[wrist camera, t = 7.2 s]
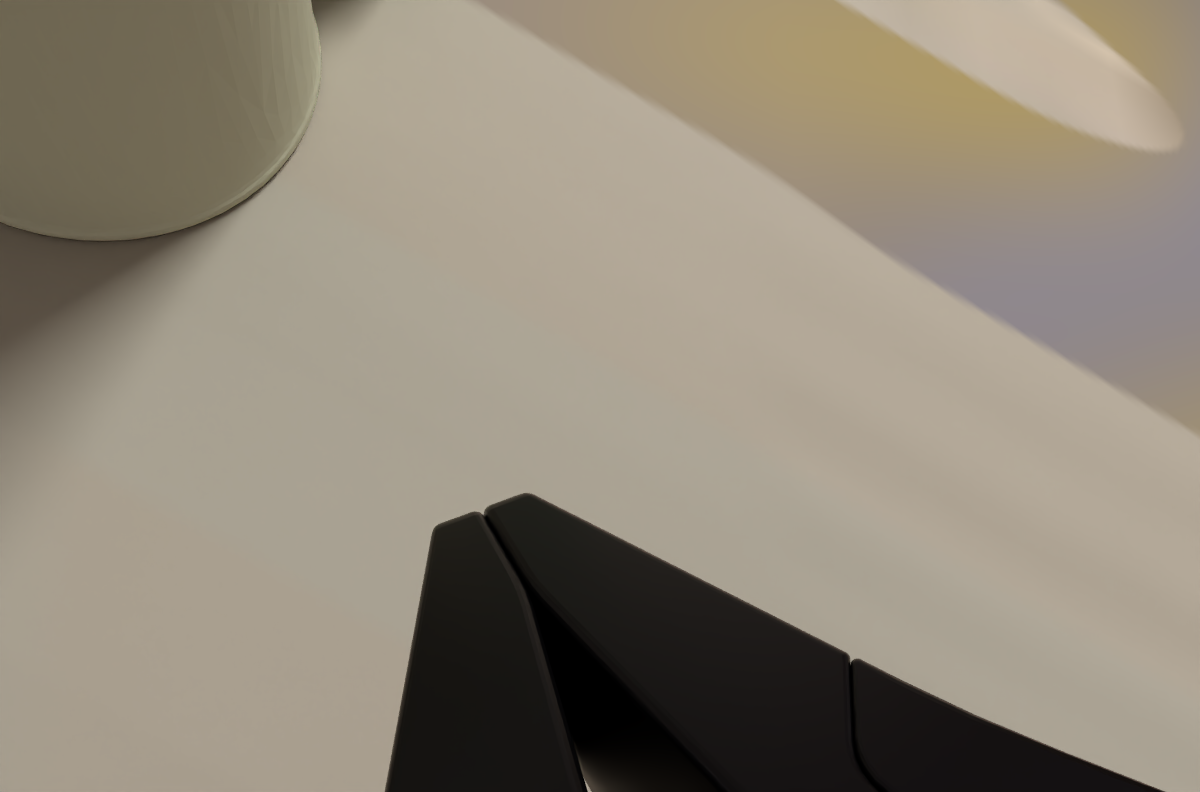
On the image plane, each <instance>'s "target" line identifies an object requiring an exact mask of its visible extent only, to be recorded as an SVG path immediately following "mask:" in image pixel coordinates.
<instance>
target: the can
mask: <svg viewBox="0 0 1200 792" xmlns="http://www.w3.org/2000/svg"><path fill="white" fill-rule="evenodd" d="M321 60H322V58H321V46H320V39H319V33H318V28H317V24H316V20H315V17H314V14H313V10H312V3H311V0H0V222H1V223H4V224H6V225H9V226H12V227H16V228H19V229H23V230H26V231H30V232H33V233H38V234H42V235H47V236H52V237H60V238H67V239H75V240H91V241H115V240H132V239H138V238H145V237H151V236H157V235H162V234H166V233H170V232H175V231H178V230H181V229H184V228H187V227H190V226H194V225H196V224H199V223H201V222H204V221H206V220H208V219H210V218H213V217H215V216H217V215H219V214H221V213H223V212H225V211H227V210H228V209H230V208H232V207H233V206H235V205H237V204H238V203H240V202H241V201H243V200H245V199H246V198H248V197H249V196H250V195H252V194H253V193H254V192H256V191H257V190H258V189H259V188H261V187H262V186H263V185H264V184H265V183H266V182H267V181H268V180H269V179H270V178H271V177H272V176H273V175H274V174H275V173H276V172H277V171H278V170H279V169H280V168H281V167H282V166H283V164H284V163H285V162H286V161H287V159H288V158H289V157H290V155H291V154H292V153H293V152H294V150H295V149H296V147H297V145H298V144H299V142H300V140H301V138H302V137H303V135H304V133H305V131H306V129H307V127H308V124H309V122H310V120H311V118H312V115H313V112H314V109H315V106H316V102H317V98H318V93H319V88H320V80H321Z"/></svg>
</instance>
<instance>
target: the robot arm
mask: <svg viewBox="0 0 1200 792" xmlns="http://www.w3.org/2000/svg"><path fill="white" fill-rule="evenodd" d="M583 777H584V778H583ZM584 779H585V781H586V782H587V784H588V786H589V788H590V789H591V791H592V792H1165V791H1162V790H1160V789H1157V788H1154V787H1152V786H1149V785H1147V784H1144V783H1142V782H1139V781H1137V780H1134V779H1132V778H1129V777H1126V776H1124V775H1121V774H1119V773H1116V772H1114V771H1111V770H1109V769H1106V768H1104V767H1101V766H1098V765H1096V764H1093V763H1091V762H1088V761H1086V760H1083V759H1081V758H1078V757H1075V756H1073V755H1070V754H1068V753H1065V752H1063V751H1060V750H1058V749H1055V748H1053V747H1051V746H1048V745H1046V744H1043V743H1041V742H1039V741H1036V740H1034V739H1031V738H1029V737H1027V736H1024V735H1022V734H1019V733H1017V732H1015V731H1012V730H1010V729H1007V728H1005V727H1003V726H1000V725H998V724H996V723H993V722H991V721H988V720H986V719H984V718H981V717H979V716H976V715H974V714H972V713H970V712H968V711H966V710H963V709H961V708H959V707H957V706H955V705H953V704H951V703H949V702H947V701H944V700H942V699H940V698H938V697H936V696H934V695H932V694H930V693H928V692H925V691H923V690H921V689H919V688H917V687H915V686H913V685H911V684H909V683H906V682H904V681H902V680H900V679H898V678H896V677H894V676H892V675H890V674H888V673H886V672H884V671H882V670H880V669H878V668H876V667H875V666H873V665H871V664H869V663H867V662H865V661H863V660H861V659H854V660H853V661H852V662H851V666H850V656H849V655H848V654H847V653H846V652H844V651H842V650H840V649H838V648H836V647H834V646H832V645H830V644H828V643H826V642H824V641H822V640H820V639H818V638H816V637H814V636H812V635H810V634H808V633H806V632H804V631H802V630H800V629H798V628H796V627H794V626H793V625H791V624H789V623H787V622H785V621H783V620H781V619H779V618H777V617H775V616H773V615H771V614H769V613H767V612H765V611H763V610H761V609H759V608H757V607H755V606H753V605H751V604H749V603H747V602H745V601H743V600H741V599H739V598H737V597H735V596H733V595H731V594H729V593H727V592H725V591H723V590H721V589H719V588H717V587H715V586H713V585H711V584H709V583H707V582H705V581H704V580H702V579H700V578H698V577H696V576H694V575H692V574H690V573H688V572H686V571H684V570H682V569H680V568H678V567H676V566H674V565H672V564H670V563H668V562H666V561H664V560H662V559H660V558H658V557H656V556H654V555H652V554H650V553H648V552H646V551H644V550H642V549H640V548H638V547H636V546H634V545H632V544H630V543H628V542H626V541H624V540H622V539H620V538H618V537H616V536H615V535H613V534H611V533H609V532H607V531H605V530H603V529H601V528H599V527H597V526H595V525H593V524H591V523H589V522H587V521H585V520H583V519H581V518H579V517H577V516H575V515H573V514H571V513H569V512H567V511H565V510H563V509H561V508H559V507H557V506H555V505H553V504H551V503H549V502H547V501H545V500H543V499H541V498H539V497H537V496H535V495H533V494H530V493H523V494H520V495H517V496H514V497H512V498H509V499H506V500H503V501H501V502H498V503H495V504H492V505H490V506H488V507H487V508H486V509H485V511H484V515H482V514H481V513H479V512H471V513H468V514H465V515H462V516H460V517H457V518H454V519H451V520H448V521H446V522H443V523H440V524H438V525H437V526H436V527H435V528H434V529H433V532H432V536H431V541H430V547H429V552H428V558H427V563H426V569H425V574H424V580H423V585H422V591H421V596H420V602H419V607H418V613H417V618H416V624H415V629H414V635H413V640H412V645H411V651H410V656H409V662H408V667H407V673H406V678H405V684H404V689H403V695H402V700H401V706H400V711H399V717H398V722H397V728H396V733H395V739H394V744H393V750H392V755H391V761H390V766H389V772H388V777H387V782H386V788H385V792H588V791H587V788H586V784H585V781H584Z"/></svg>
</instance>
